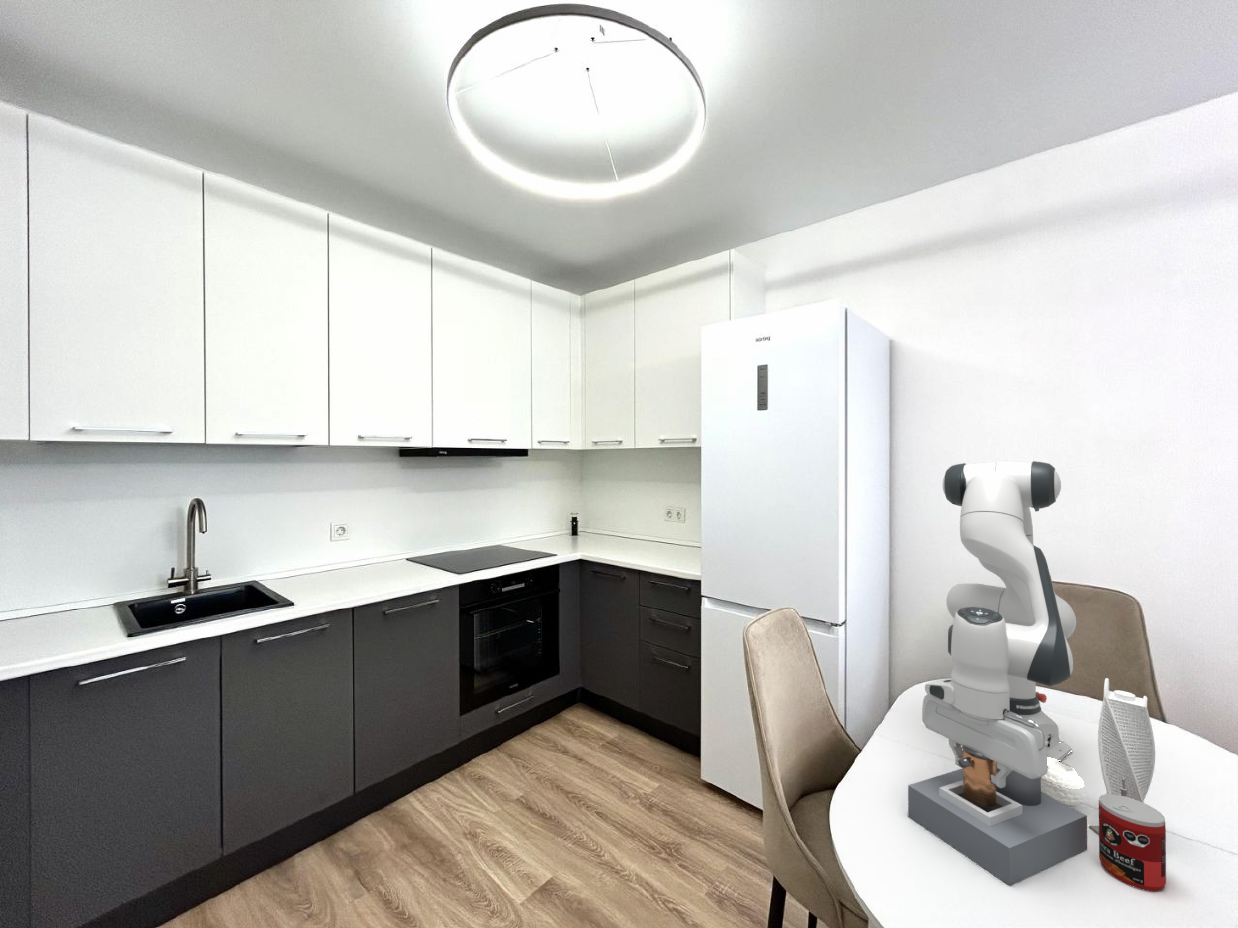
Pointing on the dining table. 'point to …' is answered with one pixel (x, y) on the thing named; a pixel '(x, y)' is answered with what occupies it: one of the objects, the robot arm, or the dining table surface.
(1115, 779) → the skyscraper
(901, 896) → the dining table surface
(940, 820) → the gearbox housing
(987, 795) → the spout can
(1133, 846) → the canned food
